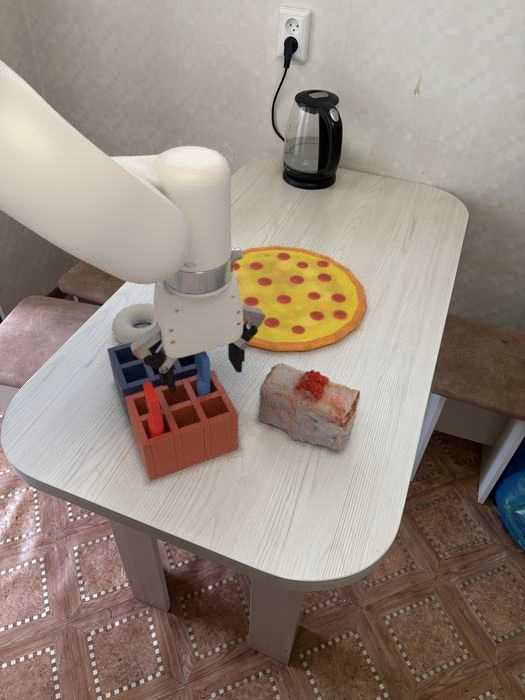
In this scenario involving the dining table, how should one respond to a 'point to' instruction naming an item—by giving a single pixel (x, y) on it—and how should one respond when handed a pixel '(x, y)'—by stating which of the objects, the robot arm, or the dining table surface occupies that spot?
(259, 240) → the dining table surface
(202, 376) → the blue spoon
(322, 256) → the pizza
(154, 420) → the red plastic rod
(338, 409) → the food item
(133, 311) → the donut
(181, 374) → the blue caddy
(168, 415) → the red caddy
